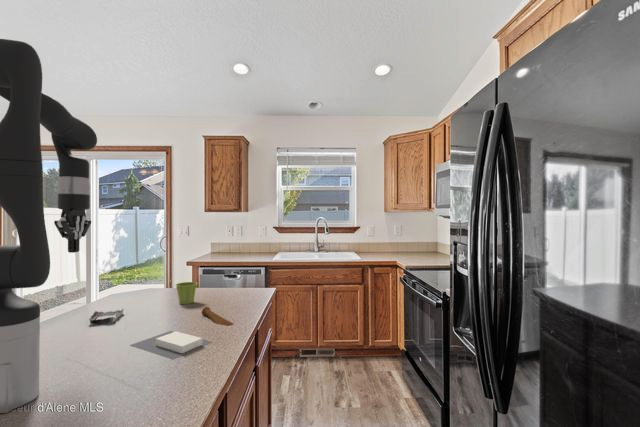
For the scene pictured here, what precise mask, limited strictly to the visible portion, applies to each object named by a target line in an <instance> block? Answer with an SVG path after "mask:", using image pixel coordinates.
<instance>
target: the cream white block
mask: <svg viewBox="0 0 640 427" xmlns="http://www.w3.org/2000/svg"><path fill="white" fill-rule="evenodd" d="M202 339H203V338H202V337H199V336H195V335H192V334H188V333H183V332H179V331H173V333H170V334H167V335H164V336H162V337H159V338H156V346H159V347H163V348H166V349H169V350H172V351H176V352H179V353H185V352H187V351H189V350H192V349H194V348H196V347H198V346H201V345H202Z"/></svg>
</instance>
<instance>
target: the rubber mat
mask: <svg viewBox="0 0 640 427" xmlns="http://www.w3.org/2000/svg"><path fill="white" fill-rule="evenodd" d="M173 332H174V331H173V330H169V331H166V332H164V333H161V334H158V335H155V336H152V337H150V338H146V339H143V340H141V341H137V342H135V343H132V344H129V346H131V347H134V348H136V349H140V350H143V351H146V352H149V353H152V354H155V355H158V356H161V357H164V358H167V359H171V360H176V359H178V358H180V357H182V356H185V355H186V354H189V353H191V352H193V351H196V350H198V349H200V348H203V347H205V346H207V345H209V344H212V343H213V341H210V340H208V339H204V338H202V345H201V346H198V347H196V348H194V349H192V350H189V351H187V352H185V353H179V352H176V351H172V350H169V349H166V348H163V347H159V346H156V338H159V337H162V336H164V335H167V334H170V333H173Z"/></svg>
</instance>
